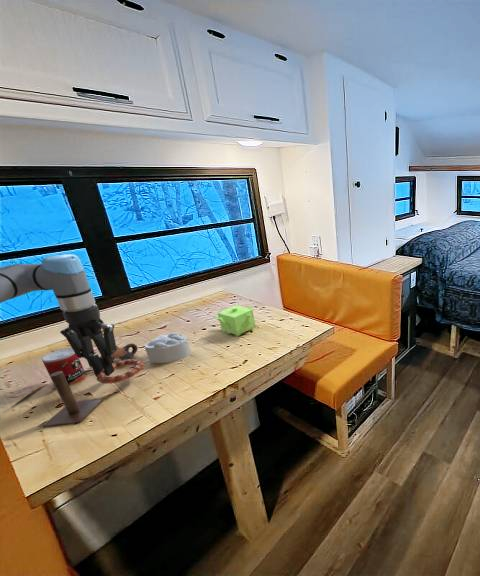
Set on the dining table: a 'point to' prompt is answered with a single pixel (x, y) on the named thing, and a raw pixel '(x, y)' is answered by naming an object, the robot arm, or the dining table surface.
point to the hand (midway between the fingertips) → (105, 373)
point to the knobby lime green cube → (236, 320)
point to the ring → (113, 379)
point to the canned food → (65, 365)
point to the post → (69, 404)
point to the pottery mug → (124, 352)
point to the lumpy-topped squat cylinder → (168, 348)
